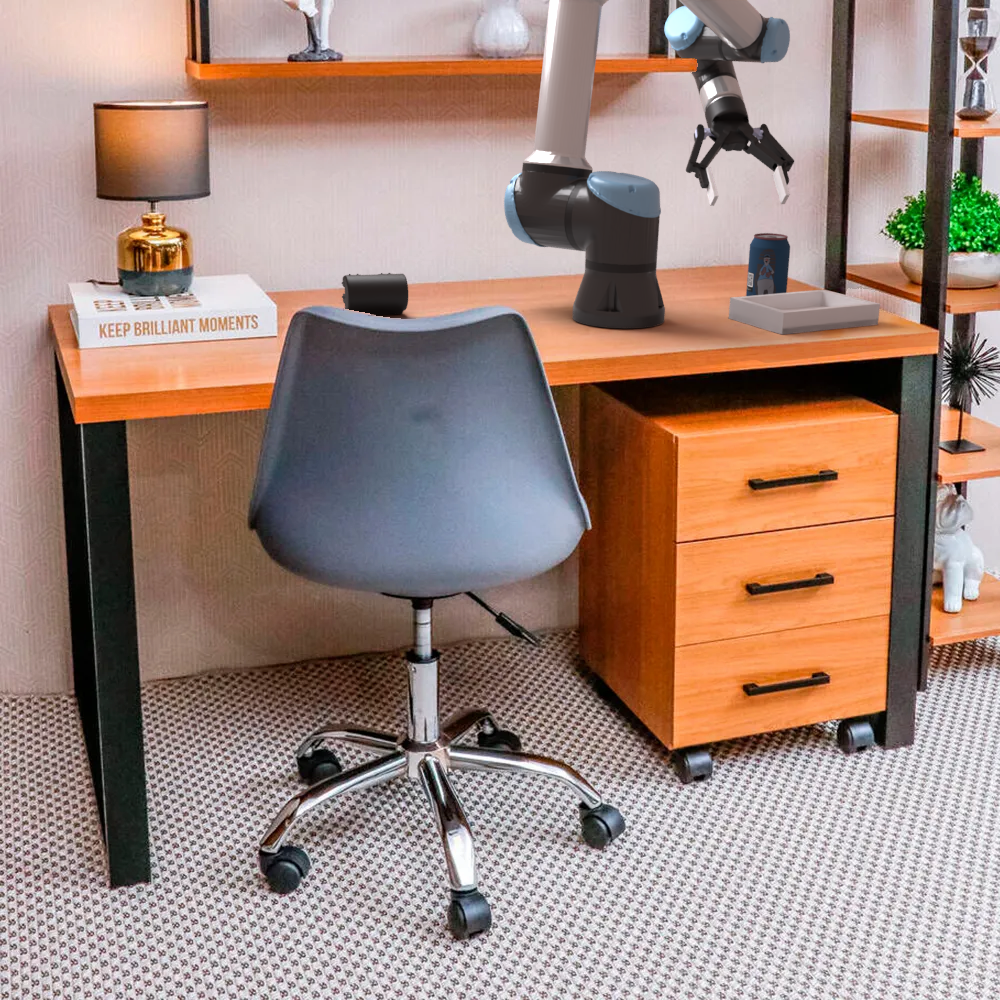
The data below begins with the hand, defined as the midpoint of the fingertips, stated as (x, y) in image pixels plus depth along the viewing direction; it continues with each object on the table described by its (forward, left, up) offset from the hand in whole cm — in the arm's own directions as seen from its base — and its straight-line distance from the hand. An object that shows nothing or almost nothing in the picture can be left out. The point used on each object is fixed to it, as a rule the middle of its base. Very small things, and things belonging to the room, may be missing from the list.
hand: (750, 200), depth 257 cm
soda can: (-3, -10, -17) cm, 20 cm away
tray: (-7, -26, -17) cm, 31 cm away
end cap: (-70, +8, -17) cm, 73 cm away
